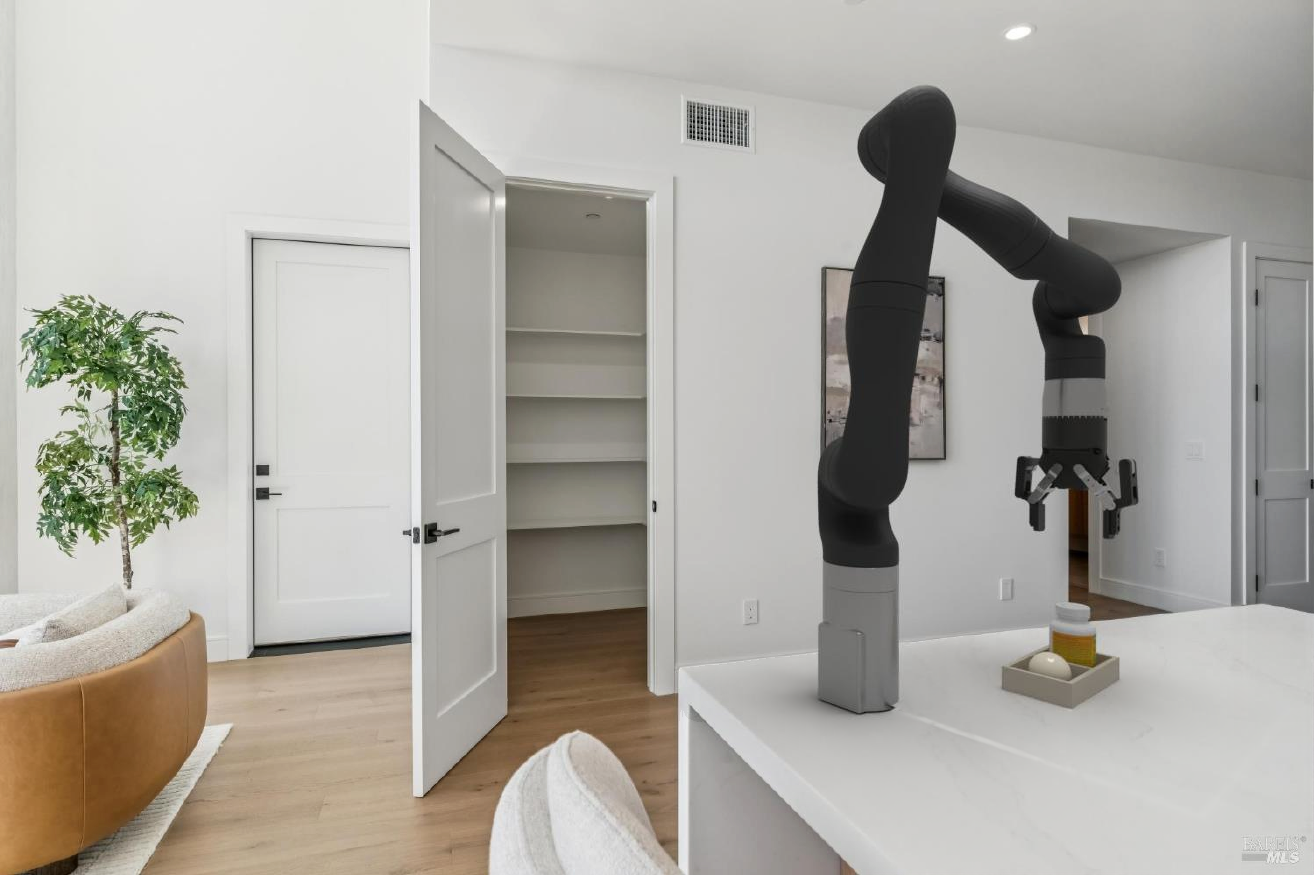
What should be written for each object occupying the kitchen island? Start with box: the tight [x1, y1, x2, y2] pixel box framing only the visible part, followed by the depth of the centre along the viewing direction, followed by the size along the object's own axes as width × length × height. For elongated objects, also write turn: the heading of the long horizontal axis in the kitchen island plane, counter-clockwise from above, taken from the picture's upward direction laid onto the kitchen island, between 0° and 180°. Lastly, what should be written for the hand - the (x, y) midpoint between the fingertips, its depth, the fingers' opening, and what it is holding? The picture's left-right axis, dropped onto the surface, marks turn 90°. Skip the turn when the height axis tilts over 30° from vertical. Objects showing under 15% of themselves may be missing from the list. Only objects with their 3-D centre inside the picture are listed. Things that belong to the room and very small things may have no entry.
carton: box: [1001, 644, 1121, 710], centre depth 90 cm, size 16×8×4 cm, turn 129°
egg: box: [1028, 652, 1072, 682], centre depth 87 cm, size 5×5×5 cm
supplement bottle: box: [1048, 601, 1097, 668], centre depth 92 cm, size 5×5×10 cm
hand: (1073, 534), depth 92 cm, fingers open, 8 cm apart
